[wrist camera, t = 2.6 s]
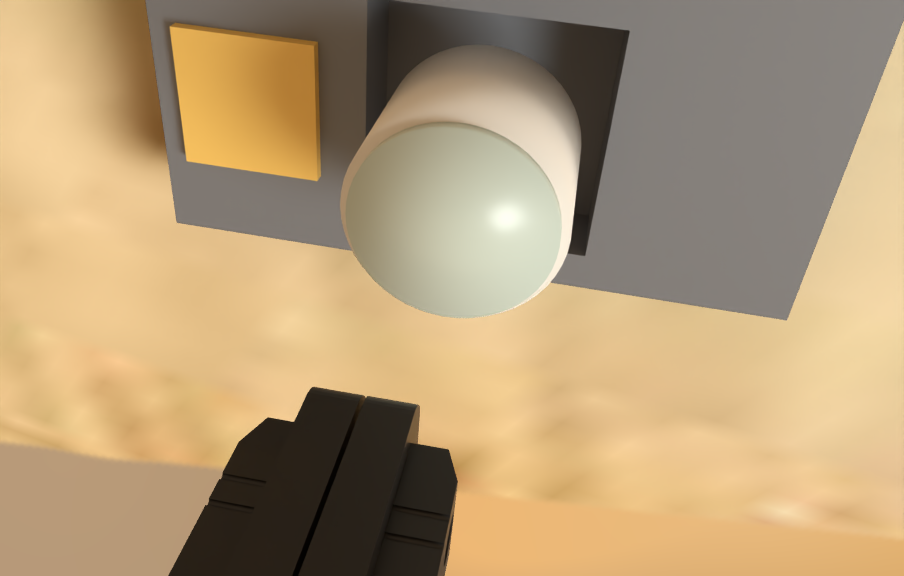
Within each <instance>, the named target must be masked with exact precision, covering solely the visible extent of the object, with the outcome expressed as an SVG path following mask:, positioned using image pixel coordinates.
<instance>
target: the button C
mask: <svg viewBox="0 0 904 576" xmlns="http://www.w3.org/2000/svg"><path fill="white" fill-rule="evenodd" d="M581 145H582V144H581V129H580V124H579V119H578V116H577V113H576V110H575V107H574V105H573V103H572V101H571V99H570V97H569V96H568V94H567V93H566V91H565V90H564V88H563V87H562V85H561V84H560V83H559V82H558V81H557V80H556V78H555V77H554V76H553V75H552V74H551V73H549V72H548V71H547V70H546V69H545V68H544V67H543V66H541V65H540V64H538V63H537V62H535V61H533V60H532V59H530V58H528V57H526V56H524V55H522V54H520V53H518V52H515V51H512V50H509V49H506V48H502V47H497V46H492V45H464V46H459V47H454V48H450V49H447V50H444V51H441V52H438V53H436V54H434V55H432V56H431V57H429V58H427V59H425V60H424V61H422V62H421V63H420V64H418V65H417V66H416V67H415V68H413V69H412V70H411V71H410V72H409V73H408V74H407V75H406V77H405V78H404V79H403V80H402V82H401V83H400V84H399V86H398V87H397V89H396V91H395V92H394V94H393V95H392V97H391V99H390V100H389V102H388V103H387V105H386V107H385V108H384V110H383V111H382V113H381V115H380V116H379V118H378V119H377V121H376V123H375V124H374V126H373V127H372V129H371V131H370V132H369V134H368V135H367V137H366V139H365V140H364V142H363V143H362V145H361V147H360V148H359V150H358V151H357V153H356V155H355V156H354V158H353V160H352V162H351V163H350V165H349V167H348V169H347V172H346V175H345V177H344V180H343V185H342V189H341V198H340V211H341V220H342V224H343V229H344V233H345V235H346V238H347V241H348V243H349V245H350V247H351V249H352V251H353V253H354V255H355V257H356V258H357V260H358V261H359V262H360V264H361V265H362V267H363V268H364V269H365V270H366V271H367V273H368V274H369V275H370V276H371V277H372V278H373V279H374V281H375V282H377V283H378V284H379V285H380V286H381V287H382V288H383V289H384V290H386V291H387V292H388V293H390V294H391V295H392V296H394V297H395V298H397V299H399V300H400V301H402V302H404V303H405V304H407V305H410V306H412V307H414V308H416V309H419V310H422V311H425V312H428V313H431V314H435V315H440V316H444V317H453V318H475V317H484V316H489V315H494V314H498V313H502V312H505V311H508V310H511V309H514V308H516V307H518V306H520V305H522V304H524V303H526V302H527V301H529V300H530V299H532V298H533V297H535V296H536V295H538V294H539V293H540V292H541V291H542V290H543V289H544V288H546V287H547V285H548V284H549V283H550V282H551V281H552V280H553V278H554V277H555V276H556V274H557V273H558V271H559V270H560V268H561V266H562V265H563V262H564V260H565V258H566V255H567V253H568V249H569V245H570V242H571V234H572V225H573V216H574V207H575V199H576V190H577V181H578V172H579V163H580V155H581Z"/></svg>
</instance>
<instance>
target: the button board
mask: <svg viewBox="0 0 904 576" xmlns="http://www.w3.org/2000/svg"><path fill="white" fill-rule="evenodd" d="M145 1H146V8H147V15H148V23H149V30H150V37H151V44H152V51H153V58H154V65H155V72H156V79H157V86H158V93H159V100H160V108H161V115H162V122H163V129H164V136H165V143H166V150H167V157H168V164H169V171H170V178H171V185H172V193H173V200H174V207H175V214H176V221H177V223H182V224H188V225H195V226H201V227H207V228H213V229H220V230H226V231H232V232H238V233H245V234H251V235H257V236H263V237H270V238H276V239H282V240H288V241H295V242H301V243H307V244H313V245H320V246H326V247H332V248H338V249H345V250H351V251H352V249H351V247H350V245H349V243H348V241H347V238H346V235H345V233H344V229H343V224H342V220H341V211H340V198H341V189H342V185H343V180H344V177H345V175H346V172H347V169H348V167H349V165H350V163H351V162H352V160H353V158H354V156H355V155H356V153H357V151H358V150H359V148H360V147H361V145H362V143H363V142H364V140H365V139H366V137H367V135H368V134H369V132H370V131H371V129H372V127H373V126H374V124H375V123H376V121H377V119H378V118H379V116H380V115H381V113H382V111H383V110H384V108H385V107H386V105H387V103H388V102H389V100H390V99H391V97H392V95H393V94H394V92H395V91H396V89H397V87H398V86H399V84H400V83H401V82H402V80H403V79H404V78H405V77H406V75H407V74H408V73H409V72H410V71H411V70H412V69H413V68H415V67H416V66H417V65H418V64H420V63H421V62H422V61H424V60H425V59H427V58H429V57H431V56H432V55H434V54H436V53H438V52H441V51H444V50H447V49H450V48H454V47H459V46H464V45H492V46H497V47H502V48H506V49H509V50H512V51H515V52H518V53H520V54H522V55H524V56H526V57H528V58H530V59H532V60H533V61H535V62H537V63H538V64H540V65H541V66H543V67H544V68H545V69H546V70H547V71H548V72H549V73H551V74H552V75H553V76H554V77H555V78H556V80H557V81H558V82H559V83H560V84H561V85H562V87H563V88H564V90H565V91H566V93H567V94H568V96H569V97H570V99H571V101H572V103H573V105H574V107H575V110H576V113H577V116H578V119H579V124H580V129H581V144H582V145H581V155H580V163H579V172H578V181H577V190H576V199H575V207H574V216H573V225H572V234H571V242H570V245H569V249H568V253H567V255H566V258H565V260H564V262H563V265H562V266H561V268H560V270H559V271H558V273H557V274H556V276H555V277H554V278H553V280H552V281H551V283H557V284H563V285H569V286H576V287H582V288H588V289H594V290H601V291H607V292H613V293H619V294H626V295H632V296H638V297H644V298H651V299H657V300H663V301H669V302H676V303H682V304H688V305H694V306H701V307H707V308H713V309H719V310H726V311H732V312H738V313H744V314H751V315H757V316H763V317H769V318H776V319H782V320H787V318H788V316H789V313H790V311H791V308H792V306H793V303H794V300H795V298H796V295H797V293H798V290H799V288H800V285H801V282H802V280H803V277H804V275H805V272H806V270H807V267H808V264H809V262H810V259H811V257H812V254H813V252H814V249H815V247H816V244H817V241H818V239H819V236H820V234H821V231H822V229H823V226H824V223H825V221H826V218H827V216H828V213H829V211H830V208H831V205H832V203H833V200H834V198H835V195H836V193H837V190H838V187H839V185H840V182H841V180H842V177H843V175H844V172H845V170H846V167H847V164H848V162H849V159H850V157H851V154H852V152H853V149H854V146H855V144H856V141H857V139H858V136H859V134H860V131H861V128H862V126H863V123H864V121H865V118H866V116H867V113H868V110H869V108H870V105H871V103H872V100H873V98H874V95H875V93H876V90H877V87H878V85H879V82H880V80H881V77H882V75H883V72H884V69H885V67H886V64H887V62H888V59H889V57H890V54H891V51H892V49H893V46H894V44H895V41H896V39H897V36H898V33H899V31H900V28H901V26H902V23H903V21H904V0H145Z"/></svg>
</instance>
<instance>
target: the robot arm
mask: <svg viewBox="0 0 904 576" xmlns="http://www.w3.org/2000/svg"><path fill="white" fill-rule="evenodd" d="M419 417H420V406H419V405H416V404H410V403H405V402H399V401H393V400H388V399H382V398H376V397H371V396H367V397H366V398H365V396H363V395H358V394H352V393H346V392H340V391H335V390H329V389H323V388H318V387H312V388H311V389H310V390H309V392H308V394H307V396H306V398H305V400H304V402H303V404H302V406H301V408H300V411H299V413H298V415H297V417H296V419H295V421H294V422H290V421H285V420H279V419H274V418H267V419H265V420H264V421H263V422H262V423H261V424H259V425H258V426H257V427H256V428H255V429H254V430H252V431H251V432H250V433H249V434H248V435H246V436H245V437H244V438H243V439H242V440H241V441H239V443H238V445H237V446H236V448H235V450H234V452H233V454H232V456H231V458H230V460H229V462H228V464H227V465H226V467H225V469H224V471H223V475H222V478H221V479H219V481H218V483H217V484H216V486H215V488H214V490H213V492H212V494H211V496H210V498H209V503H208V505H205V507H204V509H203V511H202V513H201V515H200V517H199V519H198V520H197V523H196V524H195V526H194V528H193V530H192V532H191V534H190V536H189V538H188V539H187V541H186V543H185V545H184V547H183V549H182V551H181V553H180V555H179V557H178V558H177V560H176V562H175V564H174V566H173V568H172V570H171V572H170V574H169V576H444V575H445V571H446V566H447V561H448V556H449V550H450V542H451V533H452V525H453V517H454V508H455V500H456V491H457V483H458V481H457V477H456V474H455V470H454V467H453V463H452V460H451V456H450V453H449V450H448V449H442V448H437V447H431V446H426V445H420V444H418V431H419Z"/></svg>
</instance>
